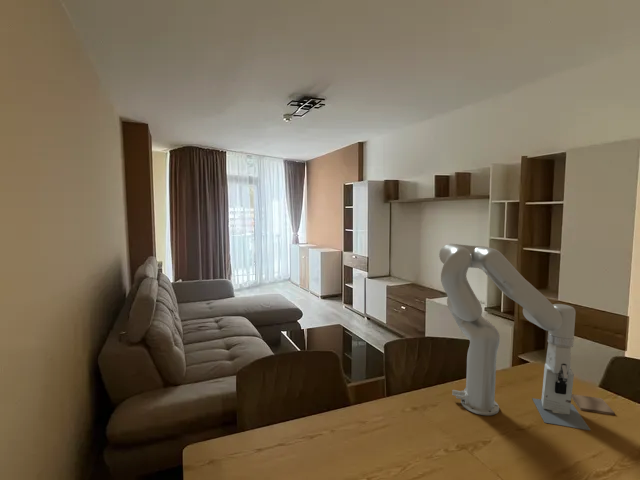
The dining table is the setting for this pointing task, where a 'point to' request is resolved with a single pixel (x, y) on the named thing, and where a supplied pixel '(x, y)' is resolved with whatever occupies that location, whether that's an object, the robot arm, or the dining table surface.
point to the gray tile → (561, 417)
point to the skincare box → (554, 399)
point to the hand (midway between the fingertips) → (557, 388)
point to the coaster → (592, 404)
